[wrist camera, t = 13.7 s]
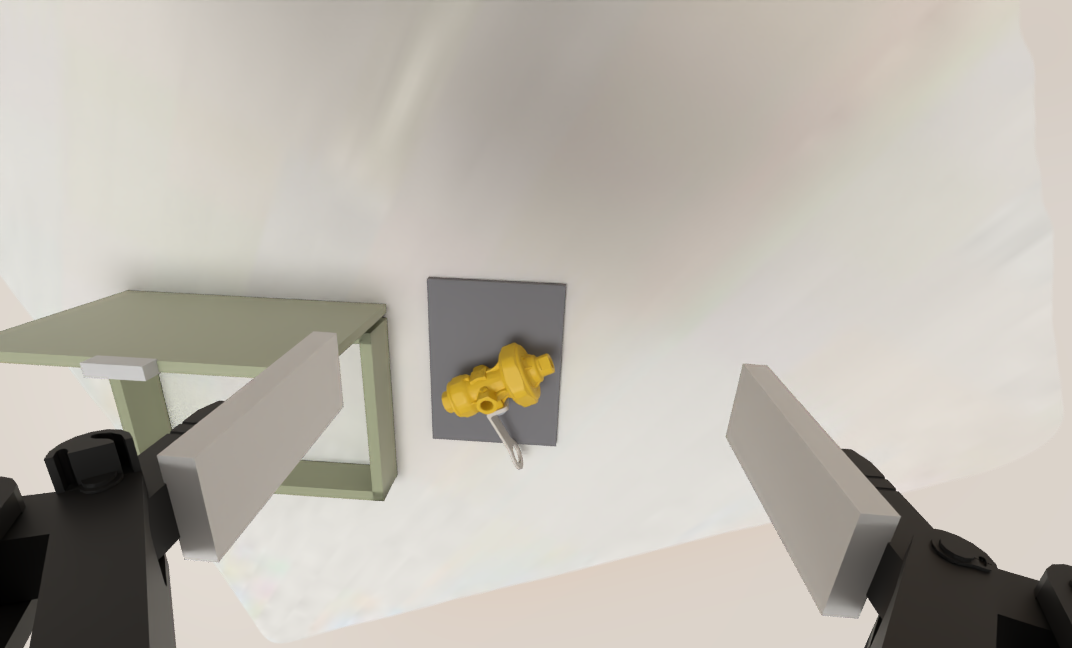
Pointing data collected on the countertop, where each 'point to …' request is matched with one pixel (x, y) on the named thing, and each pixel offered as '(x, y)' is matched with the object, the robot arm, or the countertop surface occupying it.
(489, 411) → the pressure relief valve
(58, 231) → the countertop surface
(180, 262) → the countertop surface
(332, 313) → the case
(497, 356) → the pad
